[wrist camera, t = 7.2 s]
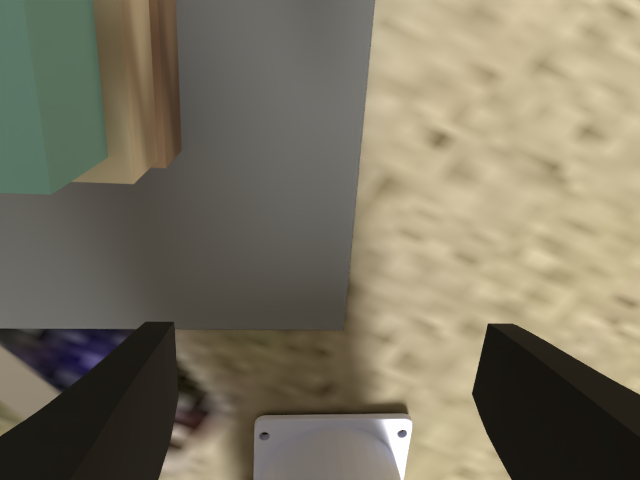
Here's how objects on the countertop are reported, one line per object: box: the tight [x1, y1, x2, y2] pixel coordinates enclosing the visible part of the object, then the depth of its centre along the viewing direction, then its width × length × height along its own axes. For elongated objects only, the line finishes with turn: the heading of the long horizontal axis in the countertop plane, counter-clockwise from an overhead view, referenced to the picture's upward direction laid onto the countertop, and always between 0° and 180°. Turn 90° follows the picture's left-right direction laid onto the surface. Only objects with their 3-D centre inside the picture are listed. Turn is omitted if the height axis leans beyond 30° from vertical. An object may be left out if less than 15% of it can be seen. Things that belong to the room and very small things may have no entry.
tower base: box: [149, 0, 182, 168], centre depth 16 cm, size 6×6×3 cm
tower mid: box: [71, 0, 158, 184], centre depth 13 cm, size 6×6×3 cm
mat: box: [0, 0, 375, 330], centre depth 18 cm, size 18×16×1 cm
